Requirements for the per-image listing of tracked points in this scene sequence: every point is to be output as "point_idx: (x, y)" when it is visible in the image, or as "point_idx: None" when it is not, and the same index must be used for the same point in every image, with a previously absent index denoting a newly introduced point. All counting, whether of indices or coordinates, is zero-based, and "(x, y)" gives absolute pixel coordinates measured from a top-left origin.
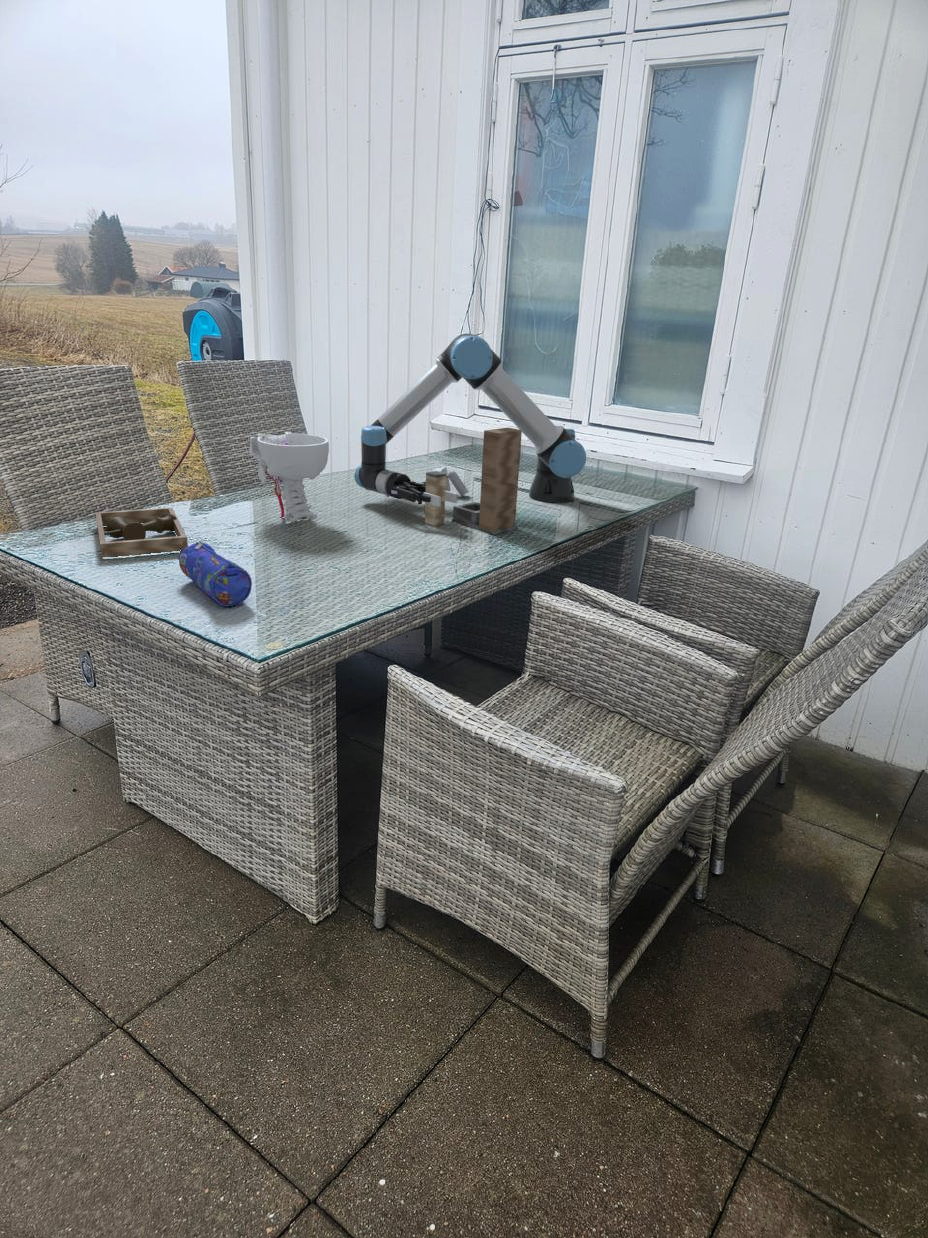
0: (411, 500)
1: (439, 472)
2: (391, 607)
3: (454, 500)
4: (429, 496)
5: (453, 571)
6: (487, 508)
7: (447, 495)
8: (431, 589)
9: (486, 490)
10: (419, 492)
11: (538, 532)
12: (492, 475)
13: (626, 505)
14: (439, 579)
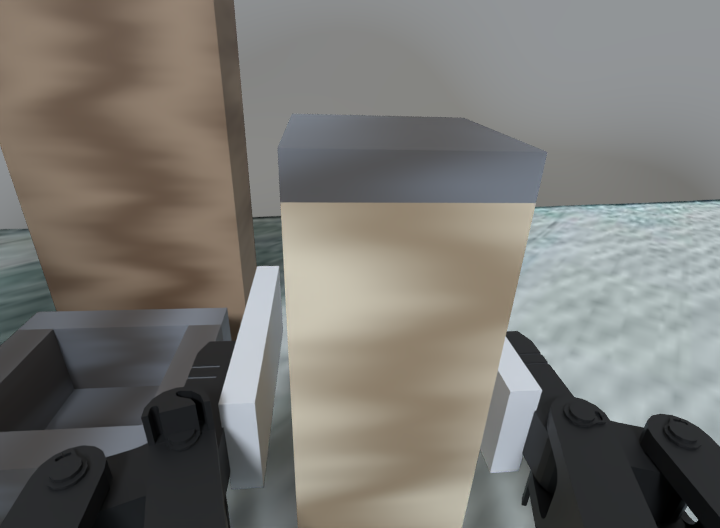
0: (682, 514)
1: (327, 127)
2: (715, 203)
3: (281, 315)
4: None
5: (559, 225)
6: (247, 227)
7: (272, 344)
8: (631, 209)
9: (236, 143)
10: (593, 413)
11: None
12: (234, 44)
13: None
14: (604, 219)
